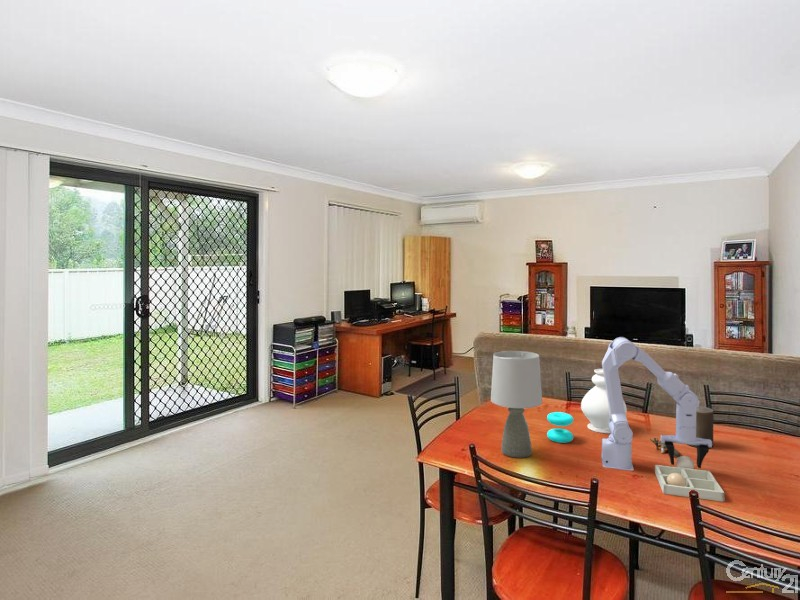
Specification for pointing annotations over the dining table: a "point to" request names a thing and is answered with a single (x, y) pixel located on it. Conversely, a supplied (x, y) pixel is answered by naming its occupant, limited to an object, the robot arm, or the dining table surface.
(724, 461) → the dining table surface
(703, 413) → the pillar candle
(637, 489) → the dining table surface
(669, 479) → the brown egg
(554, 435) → the donuts
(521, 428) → the lamp
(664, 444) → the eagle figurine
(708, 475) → the egg tray
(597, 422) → the decorative vase
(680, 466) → the cream egg
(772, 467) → the dining table surface
